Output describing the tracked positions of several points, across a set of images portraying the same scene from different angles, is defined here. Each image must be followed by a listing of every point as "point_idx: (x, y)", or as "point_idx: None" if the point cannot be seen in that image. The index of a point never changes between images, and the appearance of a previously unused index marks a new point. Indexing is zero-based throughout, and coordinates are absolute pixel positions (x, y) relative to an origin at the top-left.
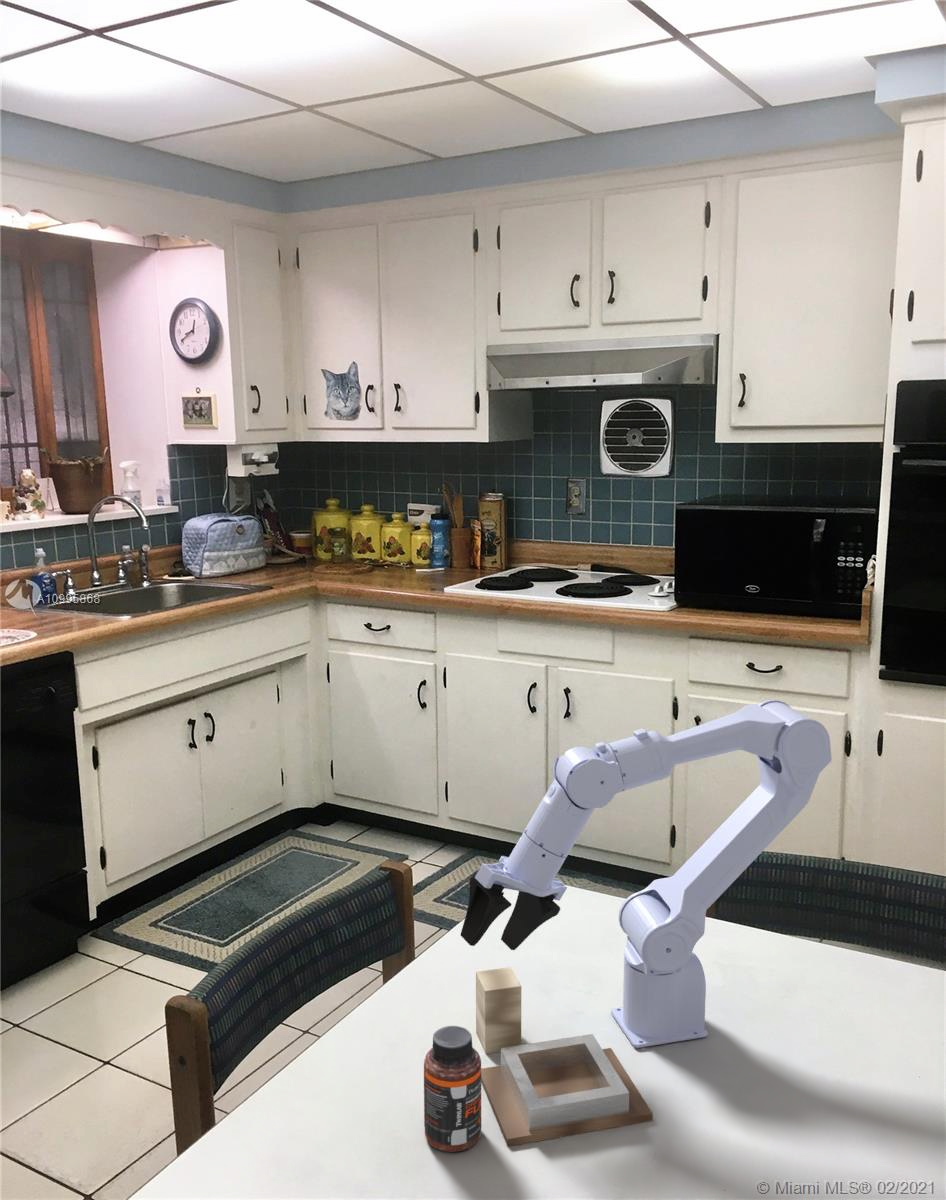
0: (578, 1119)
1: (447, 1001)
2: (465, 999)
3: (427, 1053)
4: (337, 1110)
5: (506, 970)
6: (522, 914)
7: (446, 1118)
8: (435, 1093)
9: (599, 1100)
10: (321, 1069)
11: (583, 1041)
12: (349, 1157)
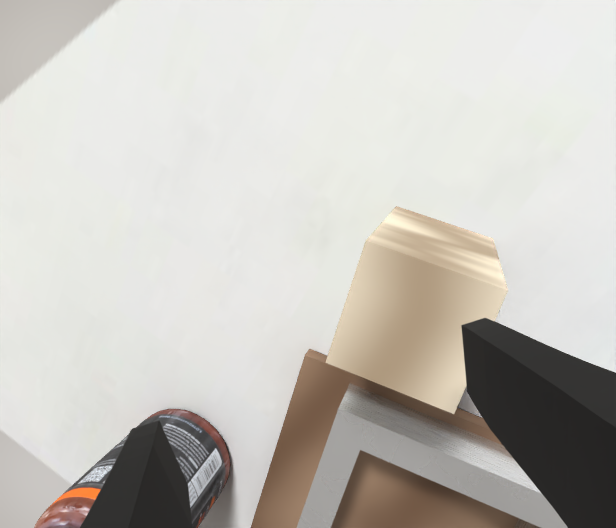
0: None
1: (412, 18)
2: (466, 35)
3: (39, 524)
4: (40, 274)
5: (475, 300)
6: (593, 482)
7: None
8: None
9: None
10: (42, 138)
11: (544, 521)
12: (31, 386)
